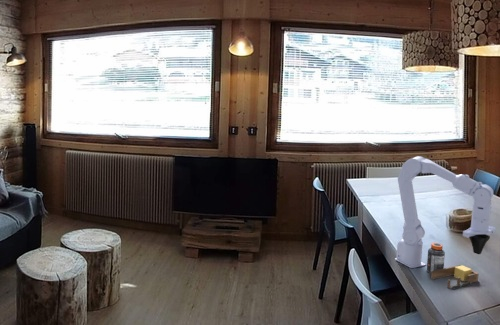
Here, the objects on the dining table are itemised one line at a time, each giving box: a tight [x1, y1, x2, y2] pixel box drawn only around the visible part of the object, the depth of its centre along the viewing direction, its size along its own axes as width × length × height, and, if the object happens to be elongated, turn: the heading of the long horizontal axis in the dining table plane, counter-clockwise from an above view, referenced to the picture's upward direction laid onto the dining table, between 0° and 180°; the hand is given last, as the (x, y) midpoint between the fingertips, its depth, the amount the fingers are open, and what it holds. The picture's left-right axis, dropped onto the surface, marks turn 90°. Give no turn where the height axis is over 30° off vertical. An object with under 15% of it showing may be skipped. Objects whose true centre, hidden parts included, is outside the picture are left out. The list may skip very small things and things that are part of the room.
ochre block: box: [453, 264, 473, 282], centre depth 146 cm, size 4×4×4 cm
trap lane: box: [430, 264, 480, 290], centre depth 144 cm, size 9×15×3 cm, turn 112°
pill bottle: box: [426, 242, 446, 274], centre depth 150 cm, size 6×6×11 cm
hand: (477, 253), depth 143 cm, fingers closed
